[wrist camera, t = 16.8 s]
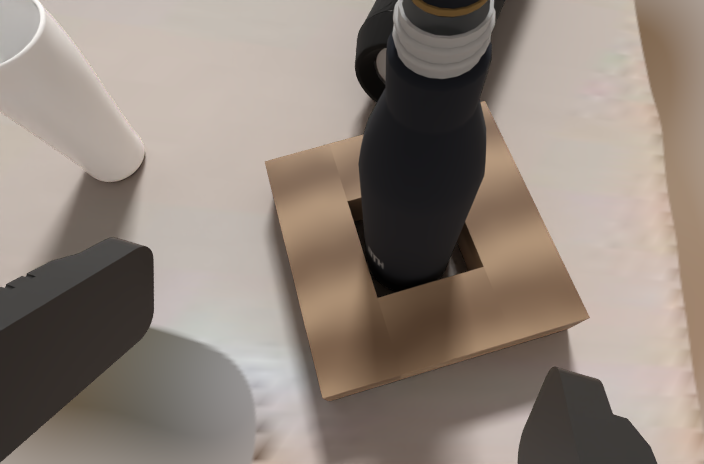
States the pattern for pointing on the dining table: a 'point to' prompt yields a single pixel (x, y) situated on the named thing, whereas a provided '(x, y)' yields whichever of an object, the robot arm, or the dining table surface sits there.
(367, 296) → the walnut jig
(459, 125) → the black bottle
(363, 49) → the portable speaker
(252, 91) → the dining table surface
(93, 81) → the drinking glass
